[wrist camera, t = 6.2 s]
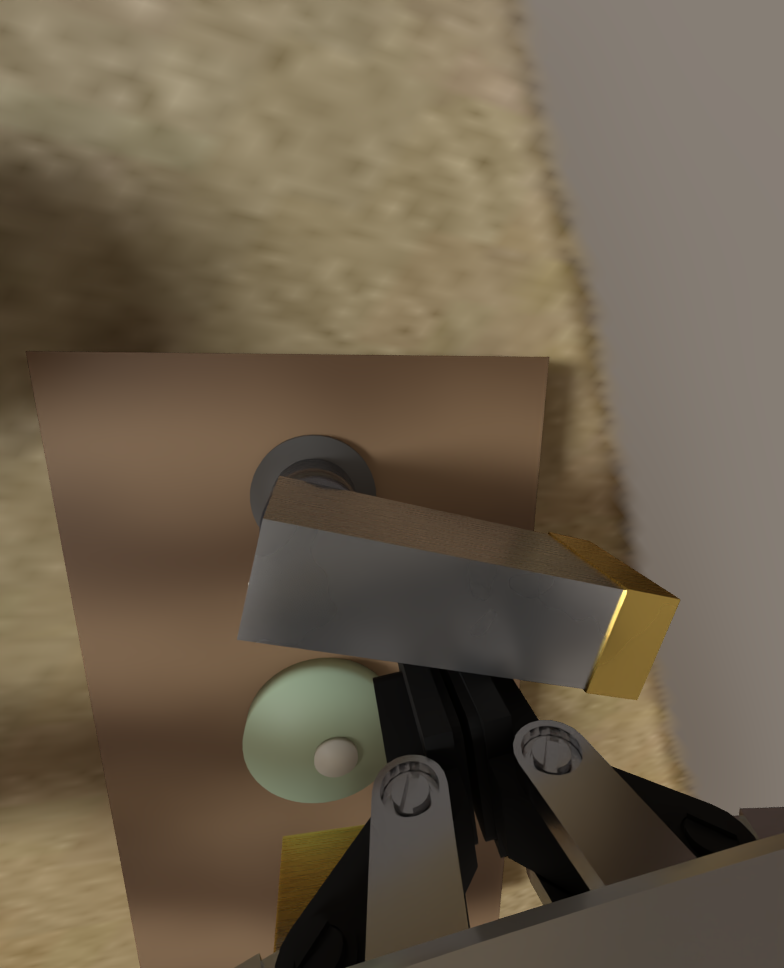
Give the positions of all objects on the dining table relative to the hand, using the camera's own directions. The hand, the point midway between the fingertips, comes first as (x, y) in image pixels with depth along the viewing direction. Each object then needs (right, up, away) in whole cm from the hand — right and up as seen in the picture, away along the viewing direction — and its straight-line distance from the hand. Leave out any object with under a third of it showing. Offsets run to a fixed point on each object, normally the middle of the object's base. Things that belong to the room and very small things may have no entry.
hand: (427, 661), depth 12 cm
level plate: (-4, -3, +5) cm, 7 cm away
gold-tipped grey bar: (0, +4, +2) cm, 4 cm away
